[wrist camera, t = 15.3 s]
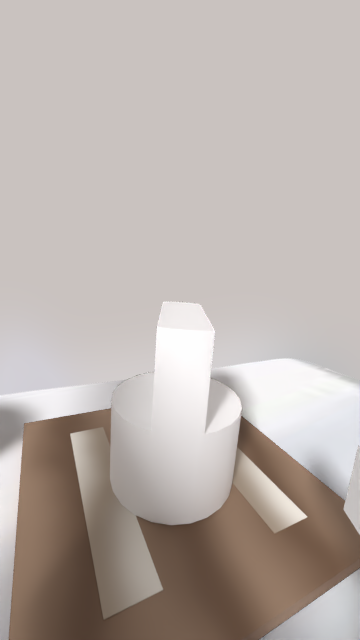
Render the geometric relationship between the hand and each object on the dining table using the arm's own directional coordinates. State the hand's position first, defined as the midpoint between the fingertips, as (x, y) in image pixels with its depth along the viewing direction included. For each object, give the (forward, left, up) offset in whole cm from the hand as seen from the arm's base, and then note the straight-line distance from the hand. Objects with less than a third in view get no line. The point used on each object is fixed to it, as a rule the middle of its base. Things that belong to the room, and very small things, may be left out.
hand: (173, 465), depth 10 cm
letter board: (-3, +9, -9) cm, 13 cm away
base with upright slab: (-3, +9, -8) cm, 13 cm away
